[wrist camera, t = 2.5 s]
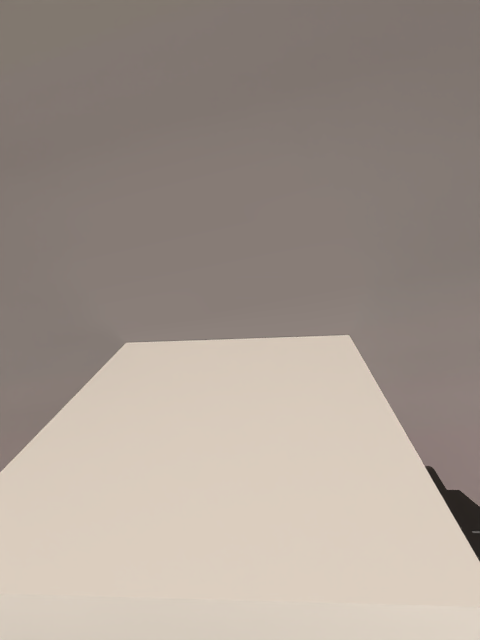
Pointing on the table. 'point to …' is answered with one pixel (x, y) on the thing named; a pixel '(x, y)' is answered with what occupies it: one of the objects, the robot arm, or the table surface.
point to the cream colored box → (231, 506)
